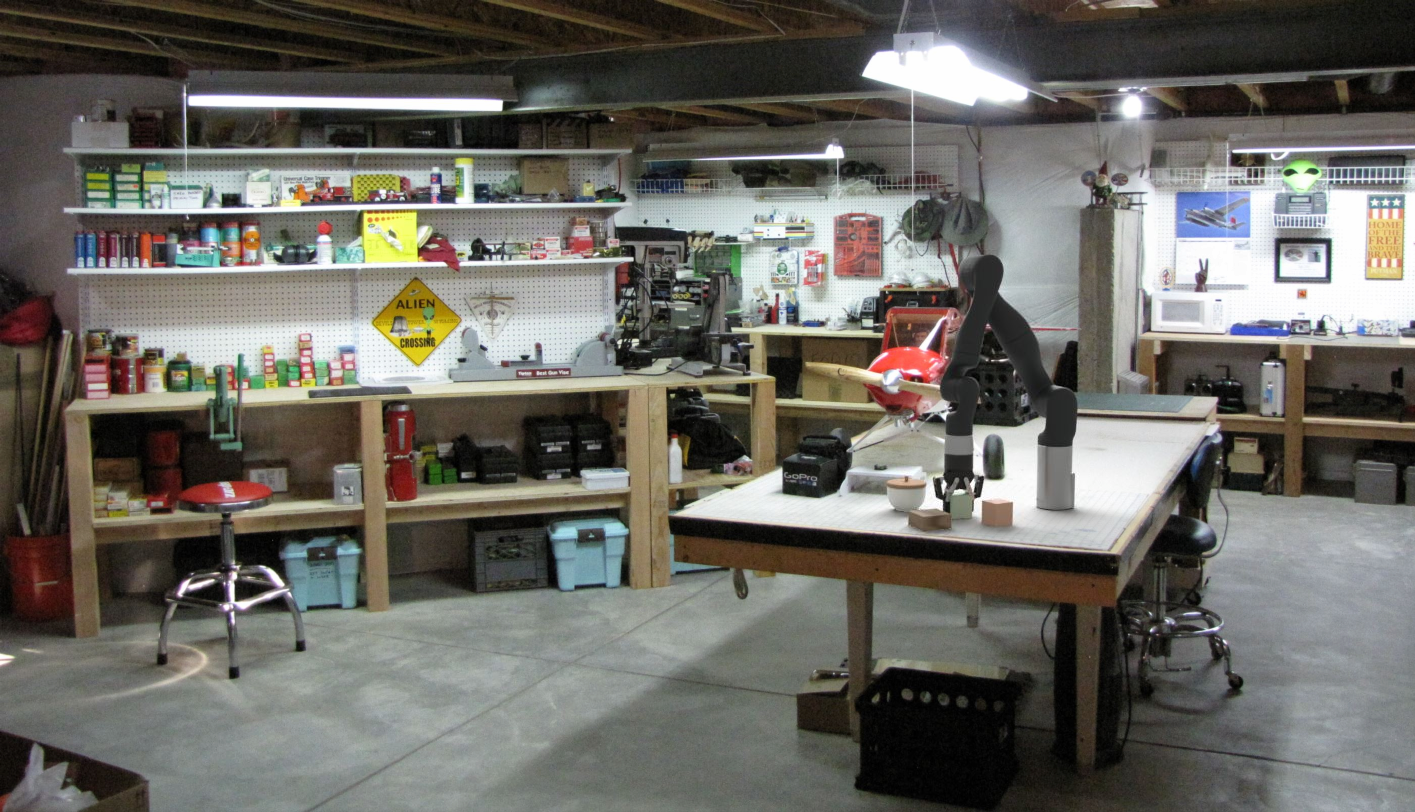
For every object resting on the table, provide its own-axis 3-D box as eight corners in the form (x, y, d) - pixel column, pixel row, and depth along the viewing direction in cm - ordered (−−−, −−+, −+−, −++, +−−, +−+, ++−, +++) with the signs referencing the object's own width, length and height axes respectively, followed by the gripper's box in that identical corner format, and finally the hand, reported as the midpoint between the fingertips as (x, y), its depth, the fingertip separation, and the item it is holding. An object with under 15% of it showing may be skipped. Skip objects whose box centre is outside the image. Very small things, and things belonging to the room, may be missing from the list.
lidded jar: (879, 507, 338) (879, 474, 337) (913, 504, 342) (913, 471, 341) (898, 515, 328) (898, 480, 327) (933, 511, 332) (933, 477, 331)
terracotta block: (998, 521, 319) (998, 498, 319) (1012, 524, 315) (1012, 501, 314) (981, 523, 317) (982, 500, 316) (995, 527, 312) (995, 504, 311)
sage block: (963, 513, 329) (964, 491, 328) (972, 518, 323) (972, 495, 322) (944, 514, 327) (944, 492, 327) (952, 519, 322) (952, 496, 321)
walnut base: (936, 523, 318) (936, 508, 318) (951, 529, 311) (951, 514, 310) (908, 526, 316) (908, 510, 315) (923, 532, 308) (923, 516, 308)
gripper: (978, 448, 328) (977, 510, 330) (927, 450, 326) (927, 513, 327) (990, 452, 321) (989, 515, 323) (938, 454, 318) (938, 518, 320)
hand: (958, 514), depth 325 cm, fingers closed on sage block, 5 cm apart
